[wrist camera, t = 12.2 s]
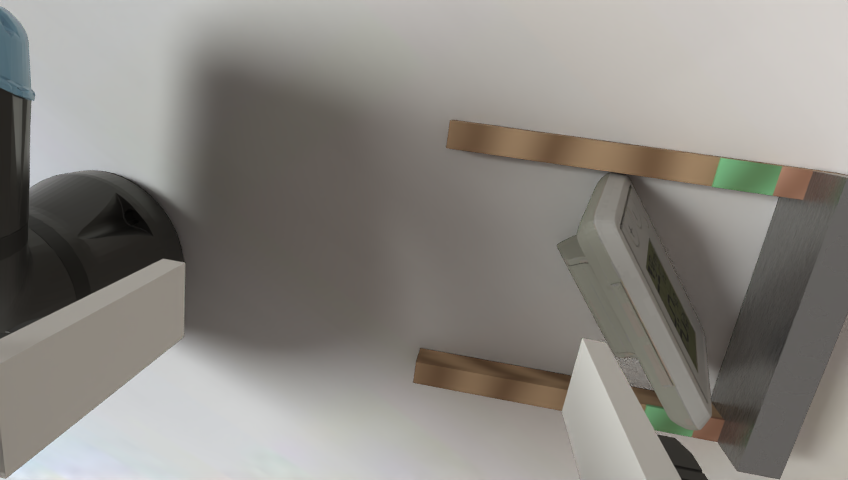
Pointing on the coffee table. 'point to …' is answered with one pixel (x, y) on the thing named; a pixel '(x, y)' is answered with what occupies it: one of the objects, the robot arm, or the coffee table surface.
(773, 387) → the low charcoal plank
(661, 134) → the coffee table surface
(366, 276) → the coffee table surface
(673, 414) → the digital clock
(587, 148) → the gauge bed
